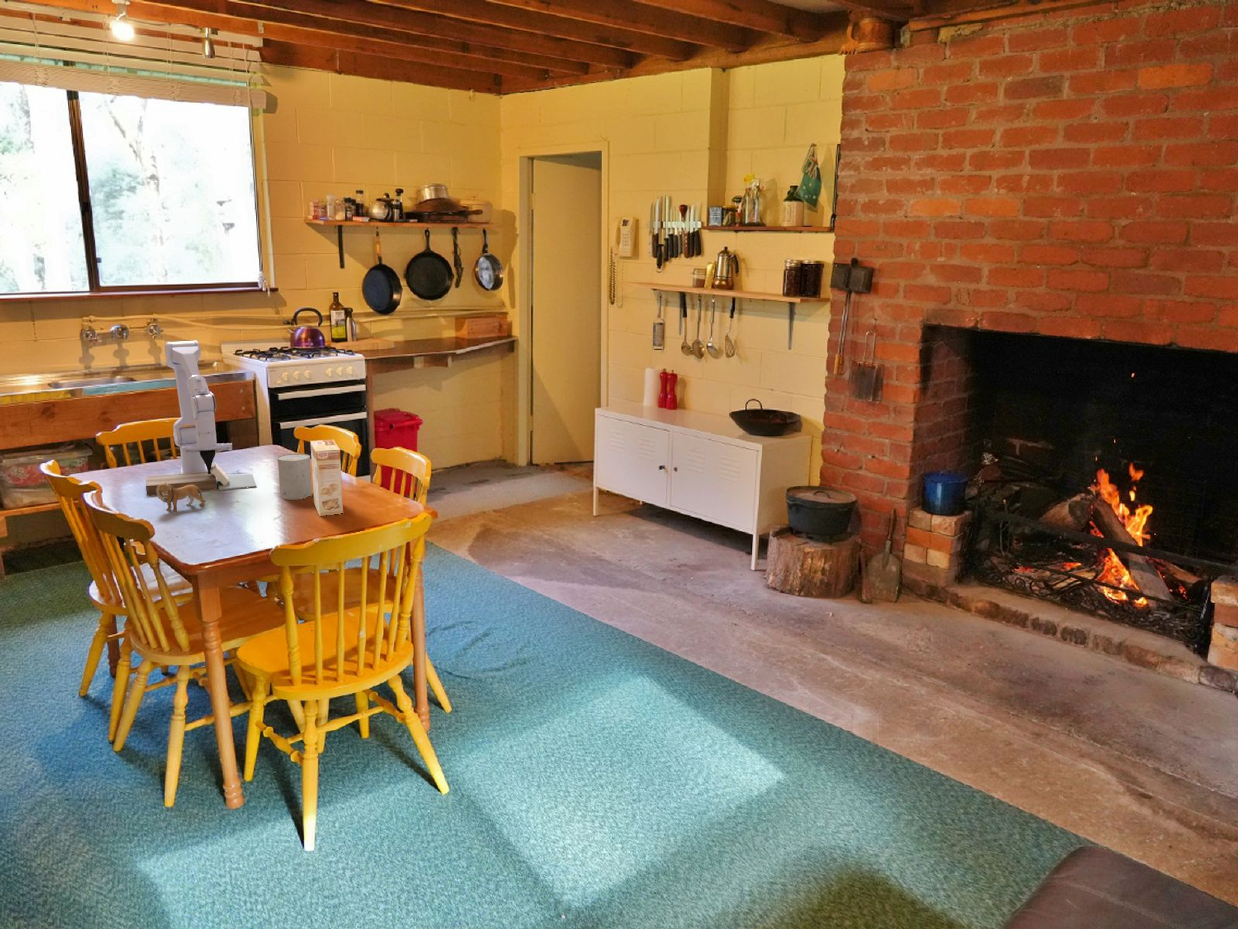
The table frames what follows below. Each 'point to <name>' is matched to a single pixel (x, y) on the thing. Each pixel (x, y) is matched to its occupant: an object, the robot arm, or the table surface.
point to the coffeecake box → (326, 477)
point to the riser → (182, 481)
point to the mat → (238, 482)
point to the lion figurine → (178, 494)
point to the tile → (219, 473)
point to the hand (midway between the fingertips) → (209, 473)
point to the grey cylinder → (294, 476)
